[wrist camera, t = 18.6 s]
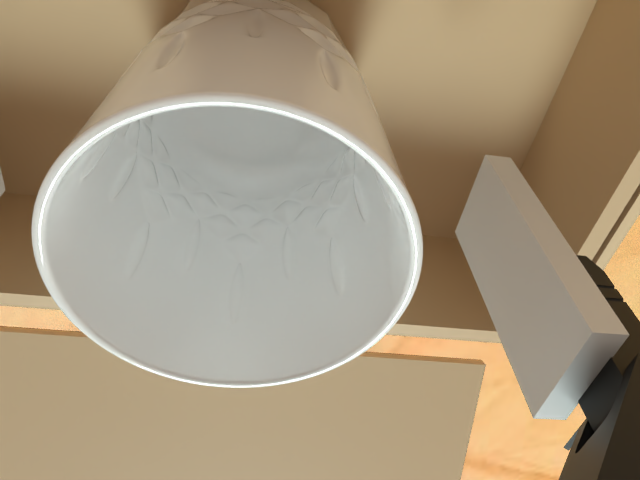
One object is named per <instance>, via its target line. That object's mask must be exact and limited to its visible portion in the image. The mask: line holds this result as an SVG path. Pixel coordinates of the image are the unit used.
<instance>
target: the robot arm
mask: <svg viewBox="0 0 640 480" xmlns="http://www.w3.org/2000/svg"><path fill="white" fill-rule="evenodd" d="M4 191H5V185H4V181H3V177H2V172H1V168H0V197H1V195H2V194H3V193H4ZM455 233H456V235H457V238H458V240H459V243H460V245H461V247H462V250H463V252H464V255H465V257H466V259H467V262H468V264H469V266H470V269H471V271H472V274H473V276H474V278H475V281H476V283H477V285H478V288H479V290H480V293H481V295H482V297H483V300H484V302H485V304H486V307H487V309H488V312H489V314H490V316H491V319H492V321H493V324H494V326H495V328H496V331H497V333H498V335H499V338H500V340H501V343H502V345H503V347H504V350H505V352H506V354H507V357H508V359H509V362H510V364H511V366H512V369H513V371H514V373H515V376H516V378H517V381H518V383H519V385H520V388H521V390H522V393H523V395H524V397H525V400H526V402H527V404H528V407H529V409H530V412H531V414H532V416H533V418H535V419H559V420H566V419H567V418H568V416H569V415H570V414H571V412H572V411H573V410H574V408H575V407H576V406H577V404H578V403H579V404H580V406H581V408H582V410H583V412H584V414H585V416H586V418H587V419H586V420H585V421H584V422H583V424H582V425H581V426H580V427H579V429H578V430H577V431H576V432H575V434H574V435H573V436H572V438H571V439H570V440H569V441H568V443H567V444H566V445H565V446H564V448H565V449H567V450H570V449H571V450H570V452H569V455H568V457H567V460H566V462H565V465H564V468H563V470H562V473H561V475H560V478H559V480H640V322H639V320H638V319H637V317H636V316H635V314H634V313H633V312H632V310H631V309H630V307H629V306H628V305H627V303H626V302H623V298H622V296H621V295H620V293H619V292H618V290H617V289H614V285H613V283H612V282H611V281H610V279H609V278H608V276H607V275H606V273H605V272H604V271H603V270H602V269H601V268H600V267H599V266H597V265H596V264H595V263H594V262H593V261H591V260H590V259H589V258H588V257H587V256H582V255H576V254H575V253H574V251H573V250H572V248H571V247H570V245H569V244H568V242H567V241H566V239H565V238H564V236H563V235H562V233H561V232H560V230H559V229H558V227H557V226H556V224H555V223H554V221H553V220H552V218H551V217H550V215H549V214H548V213H547V211H546V210H545V208H544V207H543V205H542V204H541V202H540V201H539V199H538V198H537V196H536V195H535V193H534V192H533V190H532V189H531V187H530V186H529V184H528V183H527V181H526V180H525V178H524V177H523V175H522V174H521V172H520V171H519V169H518V168H517V166H516V165H515V163H514V162H513V160H512V159H511V158H510V157H502V156H493V155H485V156H484V159H483V162H482V164H481V167H480V169H479V172H478V174H477V177H476V179H475V182H474V185H473V187H472V190H471V192H470V195H469V197H468V200H467V202H466V205H465V207H464V210H463V213H462V215H461V218H460V220H459V223H458V225H457V228H456V230H455Z"/></svg>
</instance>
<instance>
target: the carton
mask: <svg viewBox="0 0 640 480" xmlns="http://www.w3.org/2000/svg"><path fill="white" fill-rule="evenodd" d="M189 1H190V0H0V168H1V172H2V177H3V181H4V185H5V191H4V193H3V194H2V195H1V197H0V306H14V307H27V308H40V309H54V310H61V309H60V308H59V307H58V305H57V304H56V303H55V301H54V300H53V298H52V297H51V295H50V293H49V292H48V290H47V288H46V286H45V284H44V282H43V280H42V278H41V275H40V273H39V270H38V267H37V264H36V261H35V257H34V252H33V246H32V235H31V227H32V215H33V209H34V204H35V201H36V197H37V194H38V191H39V189H40V186H41V184H42V182H43V180H44V178H45V176H46V174H47V172H48V171H49V169H50V168H51V166H52V165H53V163H54V162H55V160H56V159H57V158H58V156H59V155H60V154H61V153H62V151H63V150H64V149H65V148H66V146H67V145H68V144H69V143H70V141H71V140H72V139H73V138H74V136H75V135H76V134H77V132H78V131H79V130H80V129H81V127H82V126H83V125H84V124H85V122H86V121H87V120H88V118H89V117H90V116H91V115H92V113H93V112H94V111H95V109H96V108H97V107H98V106H99V104H100V103H101V102H102V100H103V99H104V98H105V96H106V95H107V94H108V93H109V91H110V90H111V89H112V87H113V86H114V85H115V84H116V82H117V81H118V80H119V79H120V77H121V76H122V75H123V73H124V72H125V71H126V70H127V68H128V67H129V66H130V64H131V63H132V62H133V61H134V59H135V58H136V57H137V55H138V54H139V53H140V51H141V50H142V49H143V48H144V47H145V46H146V45H147V44H148V43H149V42H150V41H151V40H152V39H153V37H154V36H155V35H156V34H157V33H158V32H159V31H160V30H161V29H162V28H163V27H165V26H166V25H167V24H169V23H170V22H172V21H173V20H174V18H175V17H176V16H177V15H178V14H179V13H180V11H181V10H182V9H183V8H184V7H185V6H186V4H187V3H188V2H189ZM308 1H310V2H311V3H313V4H314V5H315V6H317V7H318V8H320V9H321V10H323V11H324V12H326V13H327V14H328V16H329V17H330V19H331V21H332V23H333V24H334V26H335V28H336V30H337V32H338V33H339V35H340V37H341V39H342V41H343V42H344V44H345V46H346V48H347V49H348V51H349V53H350V55H351V56H352V57H353V59H354V61H355V63H356V65H357V67H358V69H359V71H360V74H361V76H362V77H363V79H364V82H365V84H366V86H367V88H368V90H369V92H370V95H371V97H372V99H373V102H374V104H375V106H376V109H377V112H378V114H379V117H380V119H381V122H382V124H383V127H384V130H385V132H386V135H387V138H388V140H389V143H390V145H391V148H392V150H393V153H394V156H395V158H396V161H397V163H398V166H399V168H400V171H401V173H402V176H403V178H404V181H405V183H406V186H407V188H408V191H409V193H410V195H411V198H412V200H413V203H414V205H415V208H416V211H417V214H418V217H419V221H420V225H421V230H422V238H423V260H422V268H421V273H420V277H419V281H418V284H417V287H416V290H415V292H414V295H413V297H412V299H411V301H410V303H409V305H408V307H407V308H406V310H405V311H404V313H403V314H402V316H401V317H400V319H399V320H398V321H397V323H396V324H395V325H394V326H393V327H392V328H391V330H390V331H389V332H388V333H387V334H386V335H399V336H412V337H426V338H439V339H452V340H465V341H479V342H492V343H501V340H500V338H499V335H498V333H497V331H496V328H495V326H494V324H493V321H492V319H491V316H490V314H489V312H488V309H487V307H486V304H485V302H484V300H483V297H482V295H481V293H480V290H479V288H478V285H477V283H476V281H475V278H474V276H473V274H472V271H471V269H470V266H469V264H468V262H467V259H466V257H465V255H464V252H463V250H462V247H461V245H460V243H459V240H458V238H457V235H456V233H455V230H456V228H457V225H458V223H459V220H460V218H461V215H462V213H463V210H464V207H465V205H466V202H467V200H468V197H469V195H470V192H471V190H472V187H473V185H474V182H475V179H476V177H477V174H478V172H479V169H480V167H481V164H482V162H483V159H484V156H485V155H493V156H502V157H510V158H511V159H512V160H513V162H514V163H515V165H516V166H517V168H518V169H519V171H520V172H521V174H522V175H523V177H524V178H525V180H526V181H527V183H528V184H529V186H530V187H531V189H532V190H533V192H534V193H535V195H536V196H537V198H538V199H539V201H540V202H541V204H542V205H543V207H544V208H545V210H546V211H547V213H548V214H549V215H550V217H551V218H552V220H553V221H554V223H555V224H556V226H557V227H558V229H559V230H560V232H561V233H562V235H563V236H564V238H565V239H566V241H567V242H568V244H569V245H570V247H571V248H572V250H573V251H574V253H575V254H576V255H582V256H587V257H588V258H589V259H590V260H591V261H593V262H594V263H595V264H596V265H597V266H599V267H600V268H601V269H602V270H604V269H605V267H606V265H607V264H608V262H609V261H610V259H611V258H612V256H613V255H614V253H615V252H616V250H617V249H618V247H619V245H620V244H621V242H622V241H623V239H624V238H625V236H626V235H627V233H628V232H629V230H630V229H631V227H632V225H633V224H634V222H635V221H636V219H637V218H638V216H639V215H640V0H308Z"/></svg>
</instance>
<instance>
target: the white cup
mask: <svg viewBox="0 0 640 480" xmlns="http://www.w3.org/2000/svg"><path fill="white" fill-rule="evenodd" d="M31 235H32V246H33V252H34V257H35V261H36V264H37V267H38V270H39V273H40V275H41V278H42V280H43V282H44V284H45V286H46V288H47V290H48V292H49V293H50V295H51V297H52V298H53V300H54V301H55V303H56V304H57V305H58V307H59V308H60V309H61V311H62V312H63V313H64V314H65V315H66V317H67V318H68V319H69V320H70V321H71V322H72V323H73V324H74V325H75V326H76V327H77V328H78V329H79V330H80V331H81V332H83V333H84V334H85V335H86V336H87V337H89V338H90V339H91V340H92V341H94V342H95V343H96V344H98V345H99V346H101V347H102V348H104V349H105V350H107V351H108V352H110V353H112V354H113V355H115V356H117V357H118V358H120V359H122V360H124V361H126V362H128V363H130V364H132V365H134V366H137V367H139V368H141V369H144V370H146V371H149V372H152V373H154V374H157V375H160V376H164V377H167V378H170V379H174V380H178V381H182V382H187V383H192V384H198V385H204V386H213V387H225V388H255V387H267V386H275V385H281V384H287V383H292V382H296V381H300V380H304V379H308V378H311V377H314V376H317V375H320V374H323V373H325V372H328V371H330V370H333V369H335V368H337V367H339V366H341V365H343V364H345V363H347V362H349V361H351V360H353V359H354V358H356V357H358V356H359V355H361V354H362V353H364V352H365V351H367V350H368V349H369V348H371V347H372V346H373V345H375V344H376V343H377V342H378V341H379V340H380V339H381V338H383V337H384V336H385V335H386V334H387V333H388V332H389V331H390V330H391V328H392V327H393V326H394V325H395V324H396V323H397V321H398V320H399V319H400V317H401V316H402V314H403V313H404V311H405V310H406V308H407V307H408V305H409V303H410V301H411V299H412V297H413V295H414V292H415V290H416V287H417V284H418V281H419V277H420V273H421V268H422V260H423V238H422V230H421V225H420V221H419V217H418V214H417V211H416V208H415V205H414V203H413V200H412V198H411V195H410V193H409V191H408V188H407V186H406V183H405V181H404V178H403V176H402V173H401V171H400V168H399V166H398V163H397V161H396V158H395V156H394V153H393V150H392V148H391V145H390V143H389V140H388V138H387V135H386V132H385V130H384V127H383V124H382V122H381V119H380V117H379V114H378V112H377V109H376V106H375V104H374V102H373V99H372V97H371V95H370V92H369V90H368V88H367V86H366V84H365V82H364V79H363V77H362V76H361V74H360V71H359V69H358V67H357V65H356V63H355V61H354V59H353V57H352V56H351V55H350V53H349V51H348V49H347V48H346V46H345V44H344V42H343V41H342V39H341V37H340V35H339V33H338V32H337V30H336V28H335V26H334V24H333V23H332V21H331V19H330V17H329V16H328V14H327V13H326V12H324V11H323V10H321V9H320V8H318V7H317V6H315V5H314V4H313V3H311V2H310V1H308V0H190V1H189V2H188V3H187V4H186V6H185V7H184V8H183V9H182V10H181V11H180V13H179V14H178V15H177V16H176V17H175V18H174V20H173V21H172V22H170V23H169V24H167V25H166V26H165V27H163V28H162V29H161V30H160V31H159V32H158V33H157V34H156V35H155V36H154V37H153V39H152V40H151V41H150V42H149V43H148V44H147V45H146V46H145V47H144V48H143V49H142V50H141V51H140V53H139V54H138V55H137V57H136V58H135V59H134V61H133V62H132V63H131V64H130V66H129V67H128V68H127V70H126V71H125V72H124V73H123V75H122V76H121V77H120V79H119V80H118V81H117V82H116V84H115V85H114V86H113V87H112V89H111V90H110V91H109V93H108V94H107V95H106V96H105V98H104V99H103V100H102V102H101V103H100V104H99V106H98V107H97V108H96V109H95V111H94V112H93V113H92V115H91V116H90V117H89V118H88V120H87V121H86V122H85V124H84V125H83V126H82V127H81V129H80V130H79V131H78V132H77V134H76V135H75V136H74V138H73V139H72V140H71V141H70V143H69V144H68V145H67V146H66V148H65V149H64V150H63V151H62V153H61V154H60V155H59V156H58V158H57V159H56V160H55V162H54V163H53V165H52V166H51V168H50V169H49V171H48V172H47V174H46V176H45V178H44V180H43V182H42V184H41V186H40V189H39V191H38V194H37V197H36V201H35V204H34V209H33V215H32V227H31Z"/></svg>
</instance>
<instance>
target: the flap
mask: <svg viewBox="0 0 640 480" xmlns="http://www.w3.org/2000/svg"><path fill="white" fill-rule="evenodd" d="M485 366H486V365H485V364H484V362H483V361H482V360H475V359H461V358H447V357H432V356H418V355H404V354H390V353H376V352H364V353H362V354H361V355H359V356H358V357H356V358H354V359H353V360H351V361H349V362H347V363H345V364H343V365H341V366H339V367H337V368H335V369H333V370H330V371H328V372H325V373H323V374H320V375H317V376H314V377H311V378H308V379H304V380H300V381H296V382H292V383H287V384H281V385H275V386H267V387H255V388H225V387H213V386H204V385H198V384H192V383H187V382H182V381H178V380H174V379H170V378H167V377H164V376H160V375H157V374H154V373H152V372H149V371H146V370H144V369H141V368H139V367H137V366H134V365H132V364H130V363H128V362H126V361H124V360H122V359H120V358H118V357H117V356H115V355H113V354H112V353H110V352H108V351H107V350H105V349H104V348H102V347H101V346H99V345H98V344H96V343H95V342H94V341H92V340H91V339H90V338H89V337H87V336H86V335H85V334H84V333H83V332H78V331H64V330H50V329H35V328H21V327H7V326H0V480H460V479H461V475H462V470H463V466H464V461H465V456H466V452H467V447H468V443H469V438H470V434H471V429H472V425H473V420H474V416H475V411H476V407H477V402H478V398H479V393H480V388H481V384H482V379H483V375H484V370H485Z"/></svg>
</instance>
